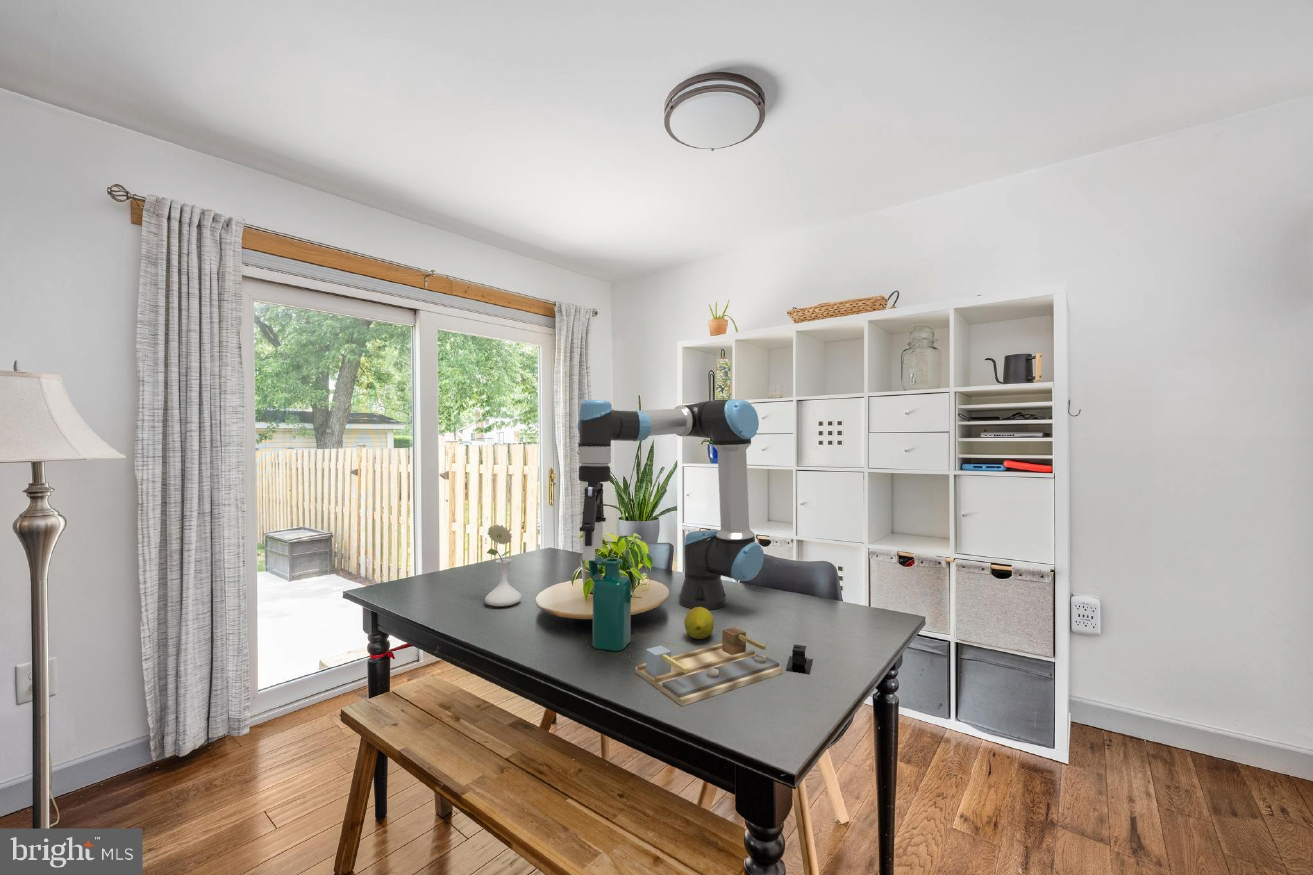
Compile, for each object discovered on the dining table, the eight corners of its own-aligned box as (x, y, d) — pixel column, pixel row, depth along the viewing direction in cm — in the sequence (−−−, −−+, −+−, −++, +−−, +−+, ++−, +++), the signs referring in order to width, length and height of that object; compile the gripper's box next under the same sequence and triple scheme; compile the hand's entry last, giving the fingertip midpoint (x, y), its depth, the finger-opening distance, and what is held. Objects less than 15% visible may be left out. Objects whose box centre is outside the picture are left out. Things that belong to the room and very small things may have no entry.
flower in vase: (529, 602, 174) (530, 524, 174) (501, 612, 164) (502, 529, 164) (501, 595, 180) (501, 520, 180) (473, 604, 171) (473, 525, 171)
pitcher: (632, 640, 142) (633, 556, 142) (621, 652, 134) (622, 563, 134) (597, 636, 144) (598, 553, 144) (585, 648, 136) (585, 560, 136)
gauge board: (729, 647, 138) (730, 622, 138) (782, 673, 123) (782, 645, 123) (635, 672, 122) (635, 645, 122) (681, 706, 107) (682, 674, 107)
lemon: (689, 629, 150) (689, 601, 150) (717, 633, 148) (717, 603, 148) (679, 644, 140) (679, 613, 140) (708, 647, 137) (709, 616, 137)
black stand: (787, 655, 134) (787, 636, 134) (817, 659, 132) (817, 640, 132) (780, 675, 123) (780, 655, 123) (813, 680, 120) (814, 660, 120)
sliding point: (661, 666, 123) (661, 645, 123) (694, 688, 112) (694, 664, 112) (646, 670, 120) (646, 649, 120) (678, 692, 110) (678, 669, 110)
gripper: (587, 462, 142) (585, 543, 142) (569, 466, 117) (567, 565, 117) (615, 463, 142) (614, 544, 142) (603, 467, 117) (601, 565, 117)
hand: (592, 553), depth 129 cm, fingers open, 13 cm apart
